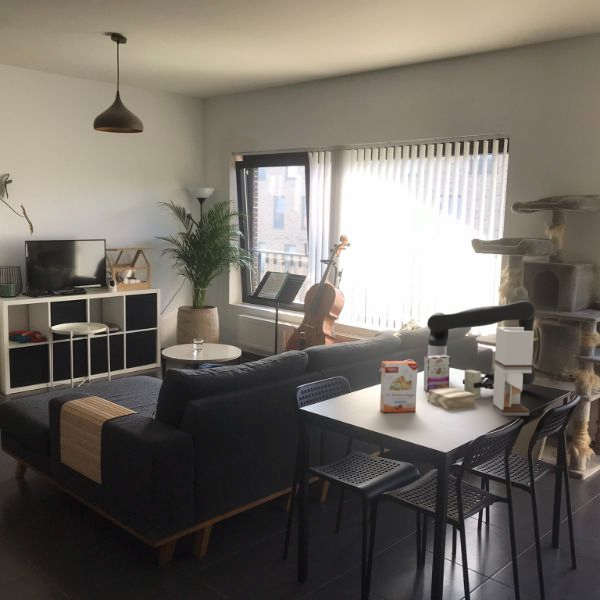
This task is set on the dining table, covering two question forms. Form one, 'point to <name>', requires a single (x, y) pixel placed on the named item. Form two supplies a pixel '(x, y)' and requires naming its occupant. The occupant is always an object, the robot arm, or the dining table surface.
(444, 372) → the candy bar box
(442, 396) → the birch plinth
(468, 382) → the skincare box
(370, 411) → the dining table surface
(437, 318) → the robot arm
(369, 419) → the dining table surface
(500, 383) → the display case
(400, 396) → the cracker box
